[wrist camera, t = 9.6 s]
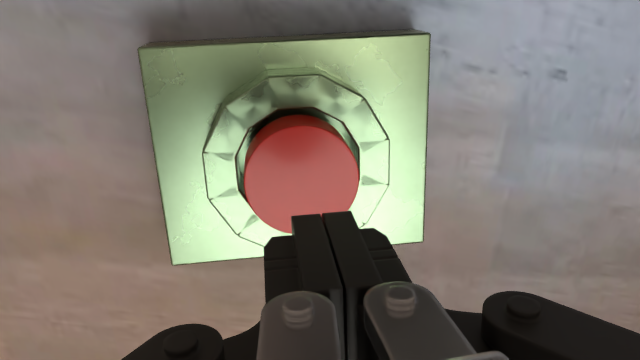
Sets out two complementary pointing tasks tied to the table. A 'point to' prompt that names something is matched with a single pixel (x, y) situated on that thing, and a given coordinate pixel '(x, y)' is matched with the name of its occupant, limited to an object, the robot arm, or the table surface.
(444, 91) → the table surface
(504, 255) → the table surface
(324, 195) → the button
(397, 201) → the box
